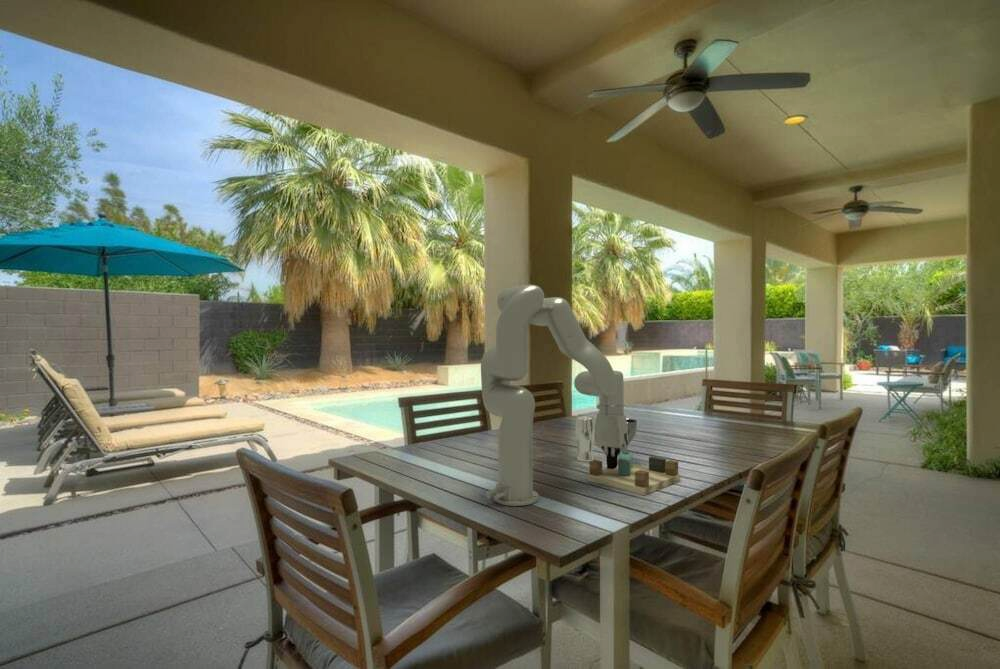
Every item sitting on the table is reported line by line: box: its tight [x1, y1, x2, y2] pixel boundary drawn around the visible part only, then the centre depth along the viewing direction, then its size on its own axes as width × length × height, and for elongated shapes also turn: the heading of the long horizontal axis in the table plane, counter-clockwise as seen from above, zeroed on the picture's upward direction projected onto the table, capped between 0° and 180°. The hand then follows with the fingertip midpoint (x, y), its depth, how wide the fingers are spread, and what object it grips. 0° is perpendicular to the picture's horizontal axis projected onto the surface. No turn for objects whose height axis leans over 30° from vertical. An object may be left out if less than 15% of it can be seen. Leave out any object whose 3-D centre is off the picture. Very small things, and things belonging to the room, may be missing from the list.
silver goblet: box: [617, 418, 638, 465], centre depth 179 cm, size 8×8×15 cm
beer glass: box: [574, 416, 595, 463], centre depth 185 cm, size 7×7×15 cm
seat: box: [587, 456, 681, 496], centre depth 158 cm, size 20×20×6 cm
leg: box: [617, 450, 634, 476], centre depth 163 cm, size 14×4×5 cm, turn 164°
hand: (612, 467), depth 161 cm, fingers closed
